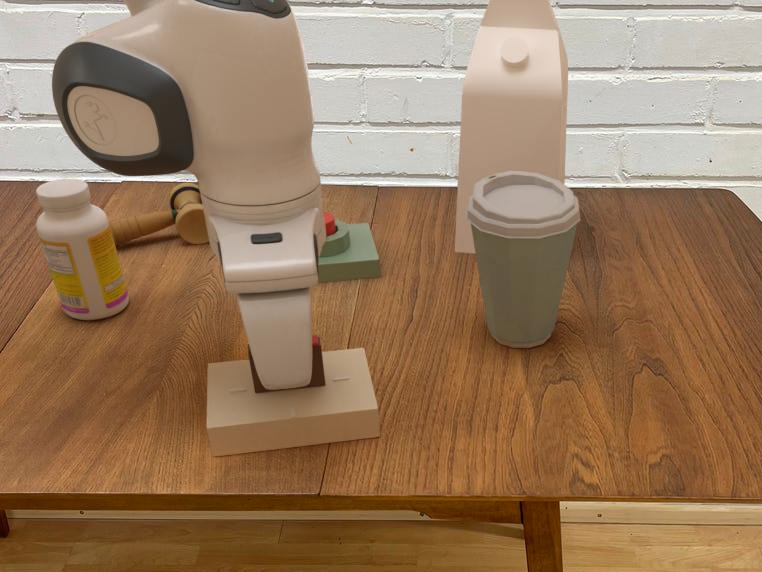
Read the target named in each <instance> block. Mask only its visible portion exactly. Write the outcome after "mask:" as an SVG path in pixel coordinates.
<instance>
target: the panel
mask: <svg viewBox="0 0 762 572" xmlns="http://www.w3.org/2000/svg"><path fill="white" fill-rule="evenodd" d="M322 357H323V366H324V375H325V383H326V385H325V386H316V387H307V388H298V389H289V390H280V391H270V392H261V393H255V390H254V384H253V379H252V373H251V367H250V362H249V358H248V359H239V360H229V361H221V362H210V363H207V383H206V384H207V386H206V387H207V389H206V425H205V426H206V433H207V437H208V443H209V446H210V450H211V455H212V457H213V458H216V457H223V456H232V455H233V456H234V455H240V454H248V453H257V452H267V451H273V450H281V449H290V448H297V447H298V448H299V447H308V446H316V445H323V444H332V443H340V442H347V441H348V442H349V441H357V440H365V439H372V438H373V439H375V438H380V437H381V427H380V416H379V415H380V414H379V405H378V401H377V398H376V393H375V388H374V384H373V380H372V376H371V372H370V368H369V362H368V357H367V354H366V350H365V347H356V348H347V349H338V350H337V349H336V350H328V351H322Z"/></svg>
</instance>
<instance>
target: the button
mask: <svg viewBox="0 0 762 572" xmlns="http://www.w3.org/2000/svg"><path fill="white" fill-rule="evenodd" d="M324 218H325V228H326V237H327V236H330V235H333V234H335V233H336V229H335V219H336V218H335V216H334V214H333V213H332V212H331V213H330V212H327V211H324Z"/></svg>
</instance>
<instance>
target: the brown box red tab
mask: <svg viewBox="0 0 762 572" xmlns="http://www.w3.org/2000/svg"><path fill="white" fill-rule="evenodd" d="M322 352H323V351H322V342H321V337H320V336H318V335H317V334H312V375H311V380H310V383H309V384H308V385H306V386H302V387H296V388H288V389H275V390H269V389H266V388H265V387H264V386H263V385H262V383H261V381H260V379H259V376H258V374H257V371H256V367H255V364H254V361H253V357H252V354H251V350H250V347H249V343H247V356H248V359H249V362H250V367H251V373H252V379H253V384H254V390H255V393H261V392H270V391H280V390H289V389H298V388H307V387H316V386H325V385H326V383H325V375H324V366H323V357H322Z"/></svg>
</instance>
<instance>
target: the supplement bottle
mask: <svg viewBox="0 0 762 572" xmlns="http://www.w3.org/2000/svg"><path fill="white" fill-rule="evenodd" d="M35 193H36V197H37V201H38V204H39V205H40V206H41V207H42V208H43V212H42V213H41V214H40V215H39V216H38V218H37V220H36V223H35V228H36V231H37V235H38V238H39V241H40V245H41V247H42V251H43V253H44V256H45V259H46V263H47V265H48V269H49V272H50V275H51V278H52V281H53V284H54V287H55V291H56V294H57V296H58V300H59V302H60V305H61V307H62V309H63V312H64V313H65V314H66V315H68V316H69V317H70V318H73V319H76V320H79V321H96V320H102V319H106V318H110V317H113V316H115V315H117V314H119V313H120V312H122V311H123V310H124V309H126V308H127V306H128V304H129V301H130V293H129V289H128V287H127V283H126V280H125V276H124V272H123V268H122V265H121V261H120V257H119V253H118V250H117V246H115V243H114V239H113V236H112V232H111V228H110V224H109V222H110V220H109V218H108V216H107V213H105V211H104V209H102V208H101V207H99V206H97V205H95V204H91V197H92V195H91V191H90V188H89V184H88V183H87V182H86V181H84V180H82V179H78V178H60V179H55V180H54V179H53V180H50V181H47V182H45V183H42V184H40V185H39V186H38V187H37V188H36V190H35Z"/></svg>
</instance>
